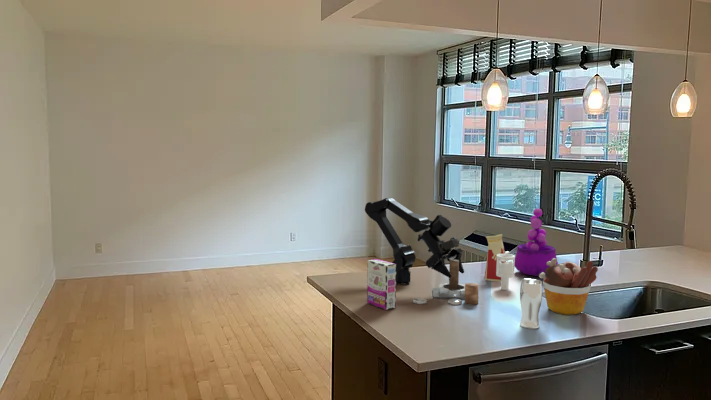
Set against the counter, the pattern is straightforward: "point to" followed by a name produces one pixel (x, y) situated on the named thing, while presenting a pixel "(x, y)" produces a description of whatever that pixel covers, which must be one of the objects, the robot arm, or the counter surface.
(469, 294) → the cherry stub
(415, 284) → the counter surface
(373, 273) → the candy bar box
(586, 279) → the bucket of meat
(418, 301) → the disc
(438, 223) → the robot arm
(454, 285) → the walnut peg
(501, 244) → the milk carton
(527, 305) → the beer glass
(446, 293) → the octagonal socket plate
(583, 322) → the counter surface
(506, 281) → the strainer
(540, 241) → the decorative plant
